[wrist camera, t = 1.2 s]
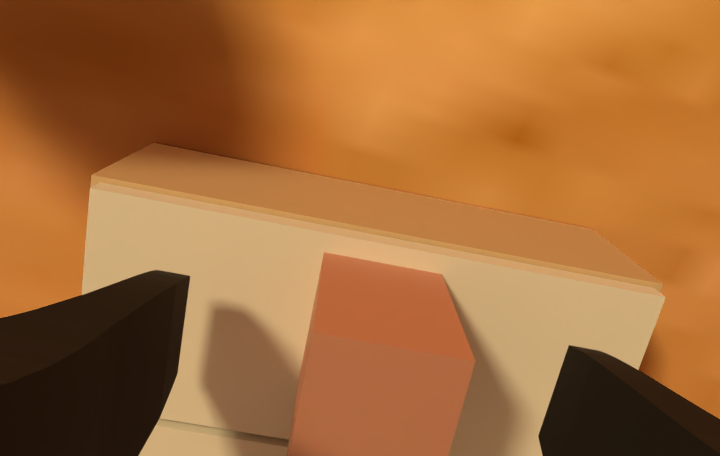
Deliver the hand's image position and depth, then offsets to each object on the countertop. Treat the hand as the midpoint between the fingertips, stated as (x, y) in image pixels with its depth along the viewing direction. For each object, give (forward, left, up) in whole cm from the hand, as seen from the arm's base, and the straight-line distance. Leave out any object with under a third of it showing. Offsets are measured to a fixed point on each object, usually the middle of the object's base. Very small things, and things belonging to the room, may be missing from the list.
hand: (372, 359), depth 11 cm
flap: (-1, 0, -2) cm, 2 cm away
